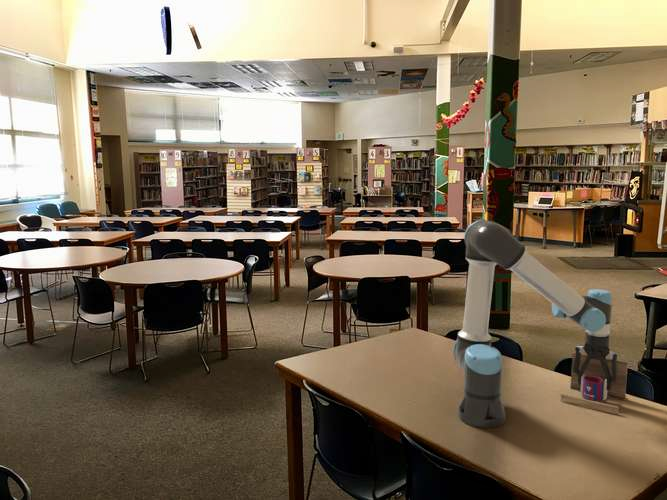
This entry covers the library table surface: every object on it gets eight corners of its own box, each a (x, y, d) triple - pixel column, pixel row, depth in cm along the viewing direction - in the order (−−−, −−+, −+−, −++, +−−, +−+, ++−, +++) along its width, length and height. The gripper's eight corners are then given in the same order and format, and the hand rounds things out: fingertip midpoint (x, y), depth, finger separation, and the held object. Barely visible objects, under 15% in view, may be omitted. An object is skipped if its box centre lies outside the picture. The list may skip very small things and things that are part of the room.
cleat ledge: (617, 414, 175) (617, 407, 174) (560, 401, 186) (561, 394, 185) (617, 413, 176) (618, 406, 175) (561, 400, 186) (561, 393, 186)
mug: (578, 397, 186) (579, 379, 185) (592, 389, 192) (593, 372, 191) (597, 403, 181) (598, 384, 180) (610, 395, 187) (612, 377, 186)
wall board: (624, 400, 186) (627, 362, 184) (570, 388, 197) (572, 352, 195) (625, 397, 188) (628, 360, 186) (572, 385, 199) (574, 350, 197)
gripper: (631, 335, 180) (626, 398, 184) (570, 326, 192) (567, 385, 196) (627, 341, 175) (622, 406, 178) (565, 331, 186) (561, 392, 190)
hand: (593, 395), depth 187 cm, fingers closed on mug, 7 cm apart
